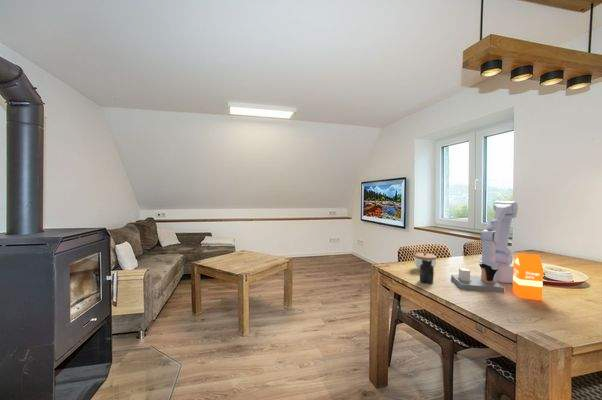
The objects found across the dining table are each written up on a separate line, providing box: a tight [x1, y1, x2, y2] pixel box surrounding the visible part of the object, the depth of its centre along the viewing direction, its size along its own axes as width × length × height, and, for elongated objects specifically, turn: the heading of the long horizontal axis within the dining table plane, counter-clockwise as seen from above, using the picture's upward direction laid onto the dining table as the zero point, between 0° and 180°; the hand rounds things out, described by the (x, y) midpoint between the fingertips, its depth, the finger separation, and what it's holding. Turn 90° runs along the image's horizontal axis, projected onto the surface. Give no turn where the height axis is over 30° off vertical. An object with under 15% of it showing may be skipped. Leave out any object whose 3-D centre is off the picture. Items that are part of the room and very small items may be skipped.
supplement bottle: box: [419, 259, 435, 285], centre depth 149 cm, size 7×7×12 cm
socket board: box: [450, 267, 505, 293], centre depth 144 cm, size 19×16×8 cm
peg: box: [480, 268, 494, 283], centre depth 142 cm, size 4×4×8 cm
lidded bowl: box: [413, 251, 437, 271], centre depth 171 cm, size 13×13×11 cm
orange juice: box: [512, 252, 544, 301], centre depth 130 cm, size 8×9×20 cm
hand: (487, 279), depth 142 cm, fingers closed on peg, 4 cm apart
